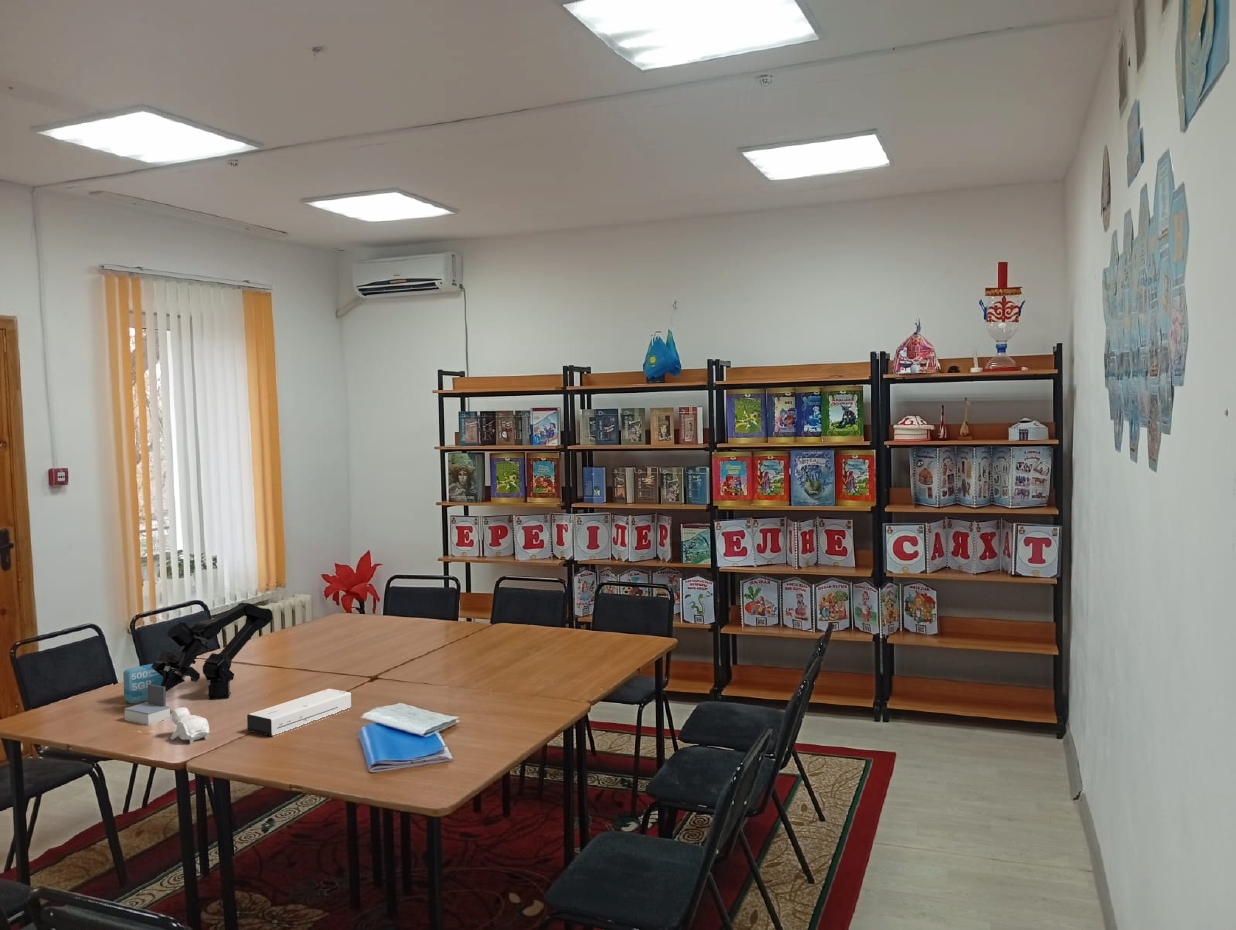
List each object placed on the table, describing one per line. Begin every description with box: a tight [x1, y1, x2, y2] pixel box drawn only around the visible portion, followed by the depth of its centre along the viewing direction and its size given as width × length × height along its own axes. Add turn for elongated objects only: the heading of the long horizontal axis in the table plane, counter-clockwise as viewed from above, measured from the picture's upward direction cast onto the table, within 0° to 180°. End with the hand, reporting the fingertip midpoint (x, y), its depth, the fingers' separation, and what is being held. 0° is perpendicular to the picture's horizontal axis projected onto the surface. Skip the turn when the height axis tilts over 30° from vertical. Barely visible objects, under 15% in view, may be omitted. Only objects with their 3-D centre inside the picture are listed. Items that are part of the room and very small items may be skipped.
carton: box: [124, 707, 171, 726], centre depth 305 cm, size 8×12×4 cm, turn 63°
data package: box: [122, 663, 163, 704], centre depth 328 cm, size 12×4×12 cm, turn 142°
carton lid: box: [124, 684, 171, 715], centre depth 305 cm, size 8×12×7 cm, turn 63°
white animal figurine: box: [170, 706, 211, 745], centre depth 287 cm, size 9×8×15 cm
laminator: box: [246, 687, 353, 737], centre depth 304 cm, size 34×12×6 cm, turn 150°
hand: (160, 693), depth 309 cm, fingers closed
